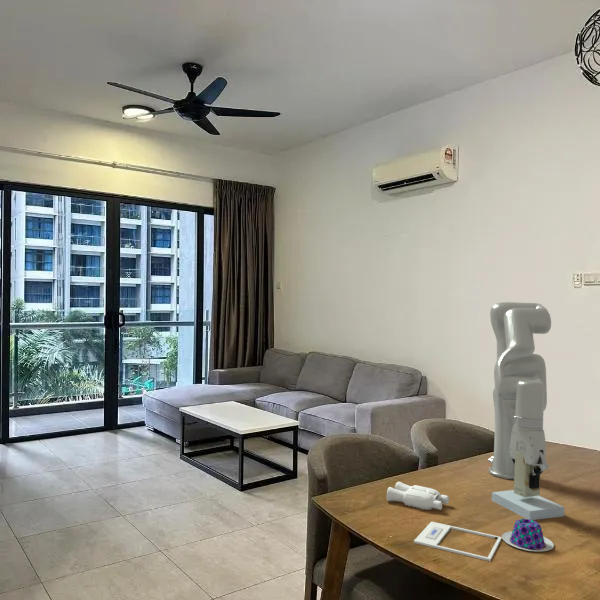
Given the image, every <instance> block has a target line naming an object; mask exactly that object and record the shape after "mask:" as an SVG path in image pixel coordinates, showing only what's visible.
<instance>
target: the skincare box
mask: <svg viewBox="0 0 600 600" xmlns="http://www.w3.org/2000/svg"><path fill="white" fill-rule="evenodd" d="M540 465H541V464H540ZM535 469H536V466H535ZM530 475H531V469H530V465H528V464H527V463H525V460H524V456H523V454H520V453H518V452H516V454H515V476H514V479H513V490H514V493H515V494H517V495H520V496H522V497H525V498H526V497H532V496H538V495H539V496H540V490H541V477H540V478H539V488H536V489H530V488H529V476H530Z"/></svg>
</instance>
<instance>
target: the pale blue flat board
mask: <svg viewBox="0 0 600 600" xmlns="http://www.w3.org/2000/svg"><path fill="white" fill-rule="evenodd" d="M491 501H492V502H493V503H495V504H497V505H500V506H501V507H503V508H505V509H506V510H507V509H508V510H509V511H512V512H513V513H514V514H517V515H518V516H521V517H522V518H523V519H529V520H532V521H536V520H544V519H552V518H561V517H565V506H562V505H561V504H558V503H556V502H555V501H552V500H550V499H547V498H545V497H544V496H541V495H540V494H539V495H538V496H532V497H526V498H525V497H522V496H520V495H517V494H515V493H514V489H510V490H509V489H508V490H501V491H491Z"/></svg>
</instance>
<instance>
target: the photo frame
mask: <svg viewBox="0 0 600 600" xmlns="http://www.w3.org/2000/svg"><path fill="white" fill-rule="evenodd" d="M450 530H455V531H460V532H463V533H469V534H472V535H473V534H474V535H478V536H482V537H487V538H491V539H495V538H496V541H495V543H494V544H493V547H492V549H491V551H490V552H489V554H488V556H483V555H479V554H474V553H471V552H467V551H463V550H458V549H454V548H452V547H451V548H450V547H446V546H443V545H439V544H440V543H441V542H442V540H443V539H444V538H445V536H446V535H447V534H448V533H449V531H450ZM502 540H503V539H502V536H499V535H494V534H490V533H485V532H480V531H476V530H471V529H467V528H462V527H457V526H453V525H449V524H444V523H440V522H437V521H433V520H432V521H430V523H428V524H427V526H426V527H425V528H424V529H423V530H422V531H421V532H420V533H419V535H417V537H416V538H415V539H414V540H413V543H414V544H417V545H421V546H425V547H429V548H433V549H436V550H437V549H438V550H442V551H446V552H450V553H454V554H458V555H463V556H466V557H469V558H470V557H471V558H475V559H477V560H478V559H479V560H482V561H487V562H491V561H492V559H493V556H494V554H495V553H496V550H497V549H498V547H499V545H500V543H501V541H502Z"/></svg>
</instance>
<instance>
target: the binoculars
mask: <svg viewBox="0 0 600 600" xmlns="http://www.w3.org/2000/svg"><path fill="white" fill-rule="evenodd" d="M386 490H387V491H386V500H388V502H400V503H404V505H405V506H407V505H408V506H407V507H411V506H412V508H415V507H416V509H419V508H420V509H419V510H424V509H425V511H431V510H433V509H435V510H440V511H441V510H443V509H442V508H443V504H446V505H448V504H449V502H450V497H449V495H446V494H441V493H440V492H439V491H438V490H436V489H435V488H434V489H433V488H432V487H426V486H422V485H417V484H414V485H412V486H411V485H408V484H405V483H403V482H402V481H397V482H396V483H395V485H394V487H391V486H389V487H388V488H387V489H386Z"/></svg>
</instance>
